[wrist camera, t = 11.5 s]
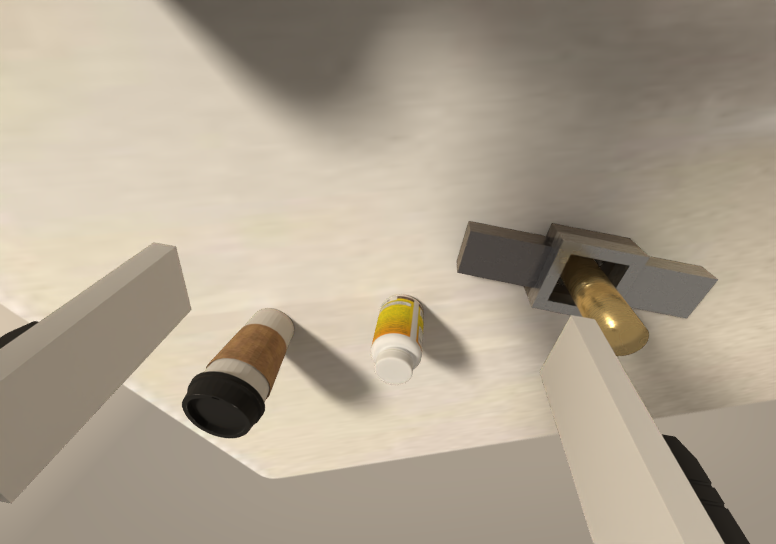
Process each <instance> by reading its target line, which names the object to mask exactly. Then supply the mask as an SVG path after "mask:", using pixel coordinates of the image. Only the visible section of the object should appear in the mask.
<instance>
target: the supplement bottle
mask: <svg viewBox="0 0 776 544" xmlns="http://www.w3.org/2000/svg"><path fill="white" fill-rule="evenodd" d="M423 325H424V311H423V308H422V306H421V304H420V303H419V302H418V301H417V300H416V299H414V298H413V297H410V296H407V295H394V296H391V297H389V298H388V299H386V300H385V301H384V302H383V304H382V306H381V308H380V312H379V317H378V321H377V325H376V329H375V333H374V338H373V342H372V347H371V357H372V359H373V361H374V363H375V368H374V370H375V374H376V376H377V377H378V378H379V379H380V380H382V381H383V382H385V383H388V384H393V385H399V384H403V383H406V382H407V381H409V380H410V378H411V377H412V374H413V369H415V368H416V367H417V366H418V365H419V363H420V361H421V357H422V341H423Z"/></svg>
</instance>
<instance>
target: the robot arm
mask: <svg viewBox="0 0 776 544" xmlns="http://www.w3.org/2000/svg"><path fill="white" fill-rule="evenodd" d="M190 311H191V306H190V302H189V297H188V293H187V289H186V285H185V281H184V277H183V273H182V269H181V265H180V261H179V257H178V253H177V249H176V246H171V245H165V244H159V243H152V244H151V245H149V246H148V247H146V248H145V249H144V250H142V251H141V252H139V253H138V254H136V255H135V256H133V257H132V258H131V259H129V260H128V261H126V262H125V263H123V264H122V265H120V266H119V267H118V268H116V269H115V270H113V271H112V272H110V273H109V274H108V275H106V276H105V277H103V278H102V279H100V280H99V281H97V282H96V283H95V284H93V285H92V286H90V287H89V288H87V289H86V290H84V291H83V292H82V293H80V294H79V295H77V296H76V297H74V298H73V299H72V300H70V301H69V302H67V303H66V304H64V305H63V306H61V307H60V308H59V309H57V310H56V311H54V312H53V313H51V314H50V315H49V316H47V317H46V318H44V319H43V320H41V321H40V322H37V321H34V322H31V323H29V324H27V325H25V326H22V327H20V328H18V329H15V330H13V331H11V332H9V333H7V334H5V335H4V336H2V337H1V338H0V501H2V502H7V503H12V502H13V501H14V500H15V499H16V498H17V497H18V496H19V495H20V493H21V492H22V491H23V490H24V489H25V488H26V487H27V486H28V485H29V484H30V483H31V482H32V480H34V478H35V477H36V476H37V475H38V474H39V473H40V472H41V471H42V470H43V469H44V467H46V466H47V464H48V463H49V462H50V461H51V460H52V459H53V458H54V457H55V456H56V455H57V454H58V453H59V452H60V450H61V449H62V448H63V447H64V446H65V445H66V444H67V443H68V442H69V441H70V439H72V438H73V437H74V435H75V434H76V433H77V432H78V431H79V430H80V429H81V428H82V427H83V426H84V425H85V424H86V422H87V421H88V420H89V419H90V418H91V417H92V416H93V415H94V414H95V413H96V412H97V411H98V410H99V409H100V408H101V406H102V405H103V404H104V403H105V402H106V401H107V400H108V399H109V398H110V396H112V394H114V392H115V391H116V390H117V389H118V388H119V387H120V386H121V385H122V384H123V383H124V382H125V381H126V380H127V378H128V377H129V376H130V375H131V374H132V373H133V372H134V371H135V370H136V369H137V368H138V367H139V366H140V365H141V363H142V362H143V361H144V360H145V359H146V358H147V357H148V356H149V355H150V354H151V353H152V352H153V351H154V349H155V348H156V347H157V346H158V345H159V344H160V343H161V342H162V341H163V340H164V339H165V338H166V337H167V335H168V334H169V333H170V332H171V331H172V330H173V329H174V328H175V327H176V326H177V325H178V324H179V323H180V321H181V320H182V319H183V318H184V317H185V316H186V315H187V314H188V313H189V312H190ZM540 375H541V378H542V382H543V385H544V388H545V391H546V394H547V398H548V401H549V404H550V407H551V410H552V413H553V417H554V420H555V423H556V426H557V429H558V433H559V436H560V439H561V442H562V445H563V448H564V452H565V455H566V458H567V461H568V464H569V468H570V471H571V474H572V477H573V480H574V483H575V487H576V490H577V492H578V496H579V499H580V502H581V505H582V509H583V512H584V515H585V518H586V522H587V525H588V528H589V531H590V534H591V538H592V541H593V544H750V543H749V542H748V540H747V539H746V537H745V535H744V534H743V532H742V530H741V529H740V527H739V526H738V524H737V523H736V521H735V519H734V518H733V516H732V515H731V513H730V512H729V510H728V509H726V508H725V507H724V502H723V500H722V499H721V497H720V495H719V494H718V492H717V491H716V489H715V488H713V487H712V486H711V481H710V480H709V478H708V476H707V475H706V473H705V472H704V470H703V468H702V467H701V466H700V464H699V462H698V460H697V459H696V458H695V457H694V456H693V455H692V454H691V453H690V452H689V451H688V450H687V448H686V447H685V446H684V445H682V443H681V442H680V441H679V440H678V439H677V438H676V437H673V436H668V435H663V434H661V433H660V431H659V429H658V428H657V426H656V424H655V422H654V421H653V419H652V417H651V415H650V414H649V412H648V410H647V408H646V407H645V405H644V403H643V402H642V400H641V398H640V396H639V395H638V393H637V391H636V389H635V388H634V386H633V384H632V383H631V381H630V379H629V377H628V376H627V374H626V372H625V370H624V369H623V367H622V365H621V363H620V362H619V360H618V358H617V357H616V355H615V353H614V351H613V350H612V348H611V346H610V344H609V343H608V341H607V339H606V338H605V336H604V334H603V332H602V331H601V329H600V327H599V325H598V324H597V322H596V320H595V319H590V318H585V317H579V316H573V315H571V316H570V318H569V320H568V322H567V323H566V325H565V327H564V329H563V331H562V332H561V334H560V336H559V338H558V340H557V341H556V343H555V345H554V347H553V349H552V350H551V352H550V354H549V356H548V358H547V359H546V361H545V363H544V365H543V366H542V368H541V370H540Z"/></svg>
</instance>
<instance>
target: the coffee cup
mask: <svg viewBox="0 0 776 544" xmlns="http://www.w3.org/2000/svg"><path fill="white" fill-rule="evenodd" d="M293 333H294V325H293V323H292V321H291V319H290V318H289V317H288V316H287V315H286V314H284V313H283V312H281V311H279V310H276V309H271V308H265V309H261V310H259V311H257V312H256V313H255V314H254V315H253V316H252V318H251V319H250V320H249V321H248V322H247V323H246V324H245V326H244V327H243V328H242V329H241V330H240V331H239V332H238V333H237V334H236V335H235V336H234V337H233V338H232V339H231V340H230V341H229V342H228V343H227V344H226V346H225V347H224V348H223V349H222V350H221V351H220V352H219V353H218V354H217V355H216V356H215V357H214V358H213V359H212V360H211V362H210V363H209V364H208V365H207V367H206V370H205V371H204V372H203V373H200V374H198V375H196V376H195V377H194V378H193V379H192V381H191V383H190V385H189V386H188V391H187V394H186V396H185V397H184V399H183V401H182V407H183V411H184V413H185V415H186V416H187V417H188V419H189V420H190V421H191V422H192V423H193V424H194V425H196V426H197V427H198V428H200V429H202V430H203V431H205V432H207V433H209V434H212V435H215V436H218V437H223V438H238V437H241V436H244V435H245V434H247V433H248V431H249V430H250V429H251V427H252V426H253V425H254V424H255V423H257V422H258V421H259V419H260V418H261V416H262V415H263V414H264V411H265V404H264V402H265V400H266V399H267V398H268V397H269V395H270V392H271V390H272V387H273V384H274V382H275V379H276V377H277V374H278V371H279V369H280V366H281V364H282V361H283V359H284V356H285V353H286V350H287V348H288V345H289V343H290V341H291V338H292V336H293Z"/></svg>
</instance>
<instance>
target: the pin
mask: <svg viewBox="0 0 776 544" xmlns="http://www.w3.org/2000/svg"><path fill="white" fill-rule="evenodd" d="M560 277H561V279H562V280H563V282H564V284H565V286H566V288H567V289H568V291H569V293H570V295H571V297H572V299H573V300H574V302H575V304H576V306H577V308H578V310H579V311H580V313H581V315H582V317H585V318H590V319H595V320H596V322H597V324H598V325H599V327H600V329H601V331H602V332H603V334H604V336H605V338H606V339H607V341H608V343H609V344H610V346H611V348H612V350H613V351H614V353H615V355H616V356H624V355H629V354H632V353H634V352H636V351H638V350H640V349H641V348H642V347H643V346H644V345H645V344H646V343H647V341H648V338H649V332H648V330H647V329H646V327H645V326H644V325H643V323H642V322H641V321H640V319H639V318H638V317H637V315H636V314H635V313H634V311H633V310H632V309H631V307H630V306H629V305H628V304H627V302H626V301H625V300H624V298H623V297H622V296H621V294H620V293H619V292H618V290H617V289H616V288H615V286H614V285H613V284H612V283H611V281H610V280H609V279H608V277H607V276H606V275H605V273H604V272H603V271H602V269H601V268H600V267H599V265H598V264H597V263H596V261H595V260H594V259H593V258H588V257H583V256H578V255H573V254H571V255H570V257H569V259H568V261H567V263H566V265H565V267H564V269H563V271H562V273H561V275H560Z"/></svg>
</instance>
